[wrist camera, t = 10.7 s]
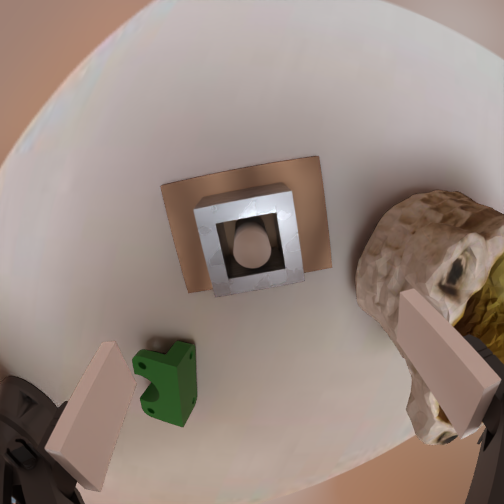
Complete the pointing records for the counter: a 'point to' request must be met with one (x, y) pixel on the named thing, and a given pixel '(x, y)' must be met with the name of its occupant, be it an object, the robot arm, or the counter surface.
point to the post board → (251, 228)
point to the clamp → (168, 382)
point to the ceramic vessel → (437, 281)
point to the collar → (242, 206)
